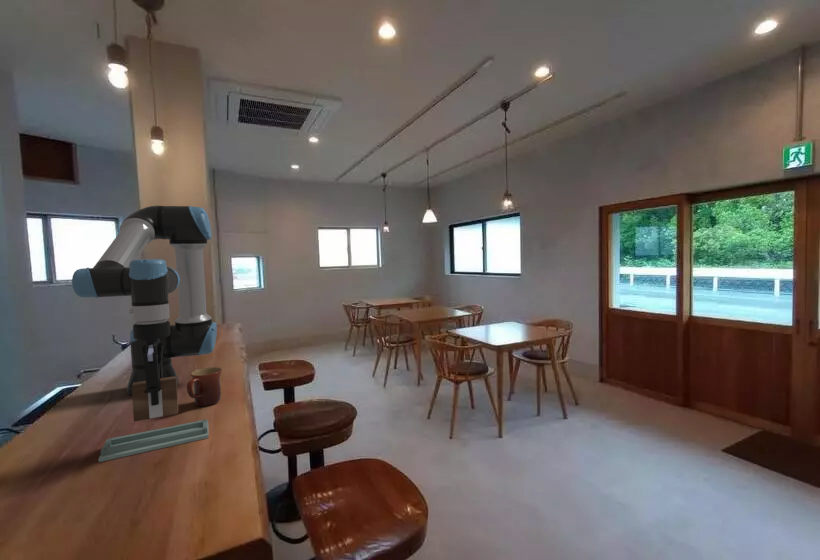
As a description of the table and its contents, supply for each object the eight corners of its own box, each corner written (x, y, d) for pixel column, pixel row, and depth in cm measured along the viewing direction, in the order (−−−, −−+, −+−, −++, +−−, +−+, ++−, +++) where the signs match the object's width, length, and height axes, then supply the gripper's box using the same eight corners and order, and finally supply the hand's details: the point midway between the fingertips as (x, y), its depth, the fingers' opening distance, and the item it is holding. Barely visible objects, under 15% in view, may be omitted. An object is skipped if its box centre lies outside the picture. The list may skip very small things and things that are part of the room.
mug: (206, 396, 123) (204, 366, 122) (229, 398, 121) (228, 367, 121) (177, 411, 111) (175, 378, 111) (202, 413, 110) (200, 379, 109)
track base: (107, 444, 92) (107, 437, 92) (208, 424, 102) (208, 417, 102) (98, 462, 84) (98, 453, 84) (208, 437, 95) (208, 430, 94)
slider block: (135, 417, 92) (133, 382, 91) (178, 410, 96) (176, 376, 95) (133, 421, 89) (131, 385, 89) (177, 413, 94) (175, 378, 93)
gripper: (138, 318, 96) (143, 406, 98) (126, 328, 83) (133, 430, 84) (172, 316, 100) (176, 401, 101) (166, 324, 86) (172, 422, 88)
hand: (157, 414), depth 93 cm, fingers closed on slider block, 3 cm apart
